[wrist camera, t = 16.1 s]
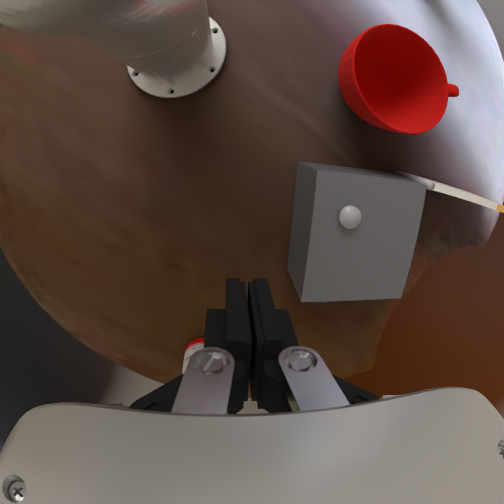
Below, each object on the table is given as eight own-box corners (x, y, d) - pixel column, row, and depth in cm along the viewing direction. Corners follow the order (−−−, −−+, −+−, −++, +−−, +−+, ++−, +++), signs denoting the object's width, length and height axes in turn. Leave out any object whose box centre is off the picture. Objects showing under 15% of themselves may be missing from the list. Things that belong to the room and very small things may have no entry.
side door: (392, 177, 37) (426, 189, 30) (394, 169, 37) (428, 179, 29) (482, 203, 40) (513, 217, 32) (483, 196, 40) (515, 210, 32)
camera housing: (297, 161, 36) (319, 171, 27) (390, 172, 38) (430, 186, 29) (285, 277, 43) (300, 316, 34) (371, 277, 44) (400, 310, 35)
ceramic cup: (427, 135, 36) (472, 141, 26) (325, 131, 35) (357, 131, 26) (420, 55, 31) (463, 45, 21) (316, 39, 30) (344, 14, 21)
